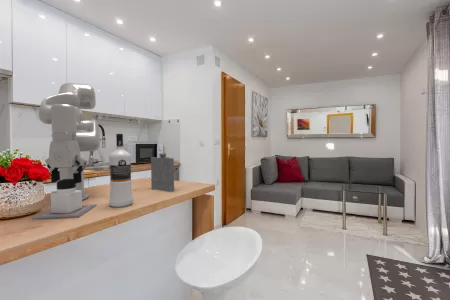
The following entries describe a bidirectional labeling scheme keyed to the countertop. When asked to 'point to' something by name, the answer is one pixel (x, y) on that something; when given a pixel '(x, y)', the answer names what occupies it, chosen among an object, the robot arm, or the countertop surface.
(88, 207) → the card
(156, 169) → the hip flask
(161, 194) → the countertop surface
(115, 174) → the vodka
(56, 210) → the medicine bottle
